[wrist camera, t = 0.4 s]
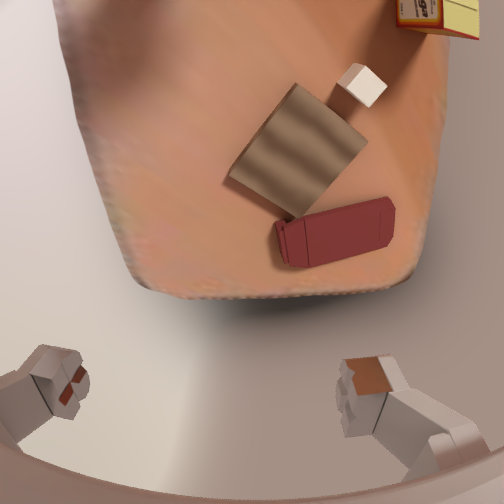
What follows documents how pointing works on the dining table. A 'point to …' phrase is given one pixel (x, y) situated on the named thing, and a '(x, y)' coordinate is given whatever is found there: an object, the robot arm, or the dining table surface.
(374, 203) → the carton
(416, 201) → the dining table surface
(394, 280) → the dining table surface
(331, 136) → the plinth
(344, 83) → the cream block
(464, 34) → the baking soda box
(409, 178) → the dining table surface
